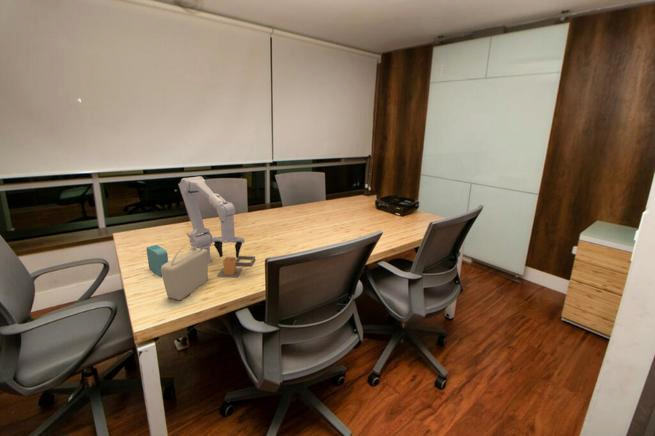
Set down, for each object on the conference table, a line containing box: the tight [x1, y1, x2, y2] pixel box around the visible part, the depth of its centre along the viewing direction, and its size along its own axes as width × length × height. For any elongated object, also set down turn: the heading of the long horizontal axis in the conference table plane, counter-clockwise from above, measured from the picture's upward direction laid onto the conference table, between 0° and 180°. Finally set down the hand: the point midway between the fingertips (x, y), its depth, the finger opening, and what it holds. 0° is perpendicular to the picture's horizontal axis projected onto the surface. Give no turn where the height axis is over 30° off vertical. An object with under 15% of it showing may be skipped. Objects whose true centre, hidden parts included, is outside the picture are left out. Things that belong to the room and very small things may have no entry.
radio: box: [161, 231, 209, 301], centre depth 136 cm, size 22×8×25 cm, turn 163°
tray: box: [236, 255, 256, 267], centre depth 166 cm, size 9×9×2 cm
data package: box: [146, 244, 169, 277], centre depth 153 cm, size 12×4×12 cm, turn 50°
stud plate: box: [216, 267, 244, 279], centre depth 154 cm, size 10×10×4 cm
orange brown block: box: [222, 256, 237, 275], centre depth 154 cm, size 4×4×7 cm
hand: (229, 256), depth 152 cm, fingers open, 7 cm apart
